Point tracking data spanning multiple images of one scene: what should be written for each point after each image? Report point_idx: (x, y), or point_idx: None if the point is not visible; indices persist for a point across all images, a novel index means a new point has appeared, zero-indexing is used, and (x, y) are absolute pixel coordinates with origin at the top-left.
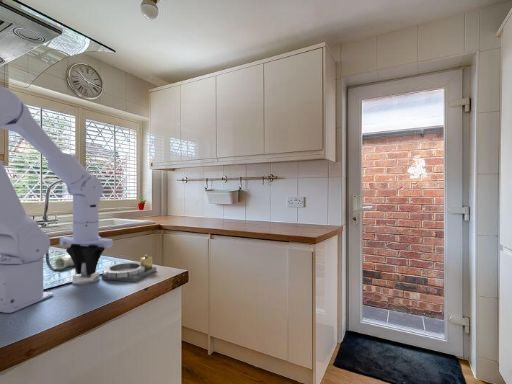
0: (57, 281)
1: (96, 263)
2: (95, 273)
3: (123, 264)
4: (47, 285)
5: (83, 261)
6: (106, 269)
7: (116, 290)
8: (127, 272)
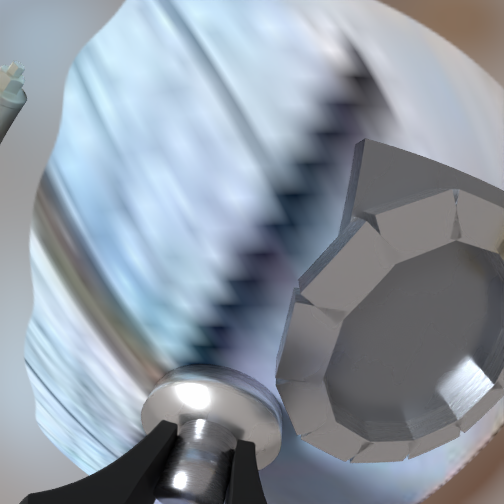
0: (91, 400)
1: (258, 492)
2: (243, 417)
3: (399, 260)
4: (101, 433)
5: (155, 490)
6: (318, 426)
7: (409, 474)
8: (458, 436)
